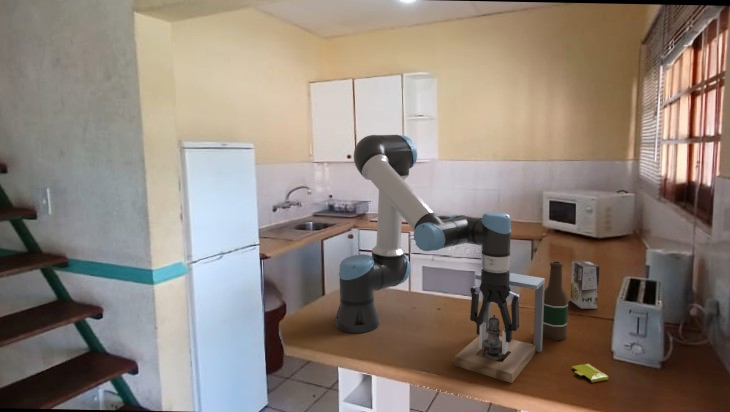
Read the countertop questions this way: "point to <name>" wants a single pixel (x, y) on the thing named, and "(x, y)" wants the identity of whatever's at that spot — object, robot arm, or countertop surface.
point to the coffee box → (584, 284)
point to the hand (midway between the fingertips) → (493, 348)
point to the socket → (504, 370)
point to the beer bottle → (555, 305)
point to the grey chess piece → (493, 340)
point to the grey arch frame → (539, 303)
